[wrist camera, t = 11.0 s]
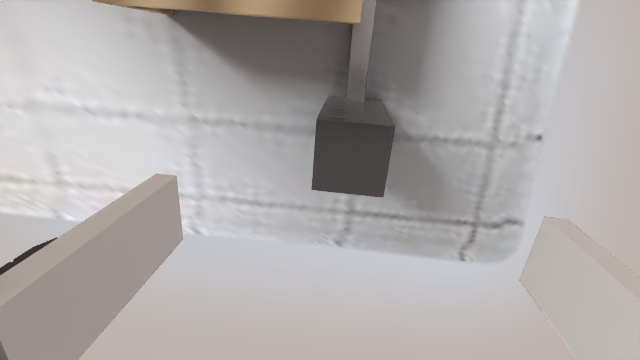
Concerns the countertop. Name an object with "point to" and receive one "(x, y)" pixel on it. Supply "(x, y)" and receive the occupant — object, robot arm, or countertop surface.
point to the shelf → (257, 8)
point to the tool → (354, 127)
